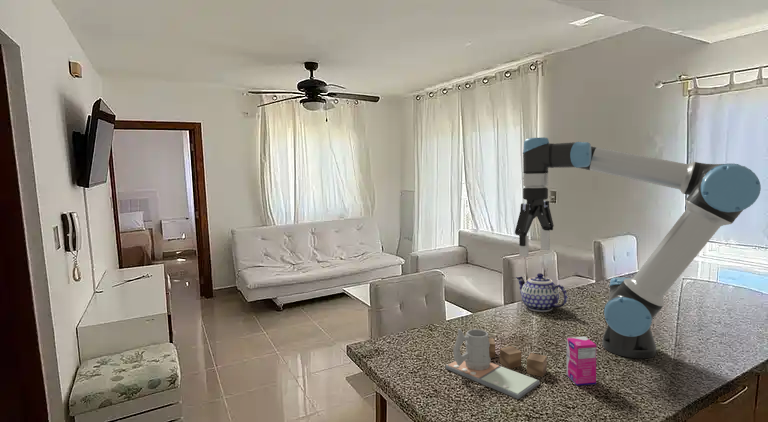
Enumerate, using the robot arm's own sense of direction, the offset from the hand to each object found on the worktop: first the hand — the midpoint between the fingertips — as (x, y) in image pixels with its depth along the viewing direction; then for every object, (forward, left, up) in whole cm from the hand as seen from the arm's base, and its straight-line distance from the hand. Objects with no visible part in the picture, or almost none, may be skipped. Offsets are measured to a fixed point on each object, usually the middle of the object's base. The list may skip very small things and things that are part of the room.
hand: (534, 252), depth 138 cm
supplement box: (-20, +11, -32) cm, 39 cm away
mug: (+5, +27, -31) cm, 41 cm away
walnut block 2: (-1, +16, -32) cm, 36 cm away
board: (-1, +27, -32) cm, 41 cm away
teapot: (+18, -38, -32) cm, 53 cm away
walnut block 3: (-9, +15, -32) cm, 36 cm away
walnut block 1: (+8, +15, -32) cm, 36 cm away
